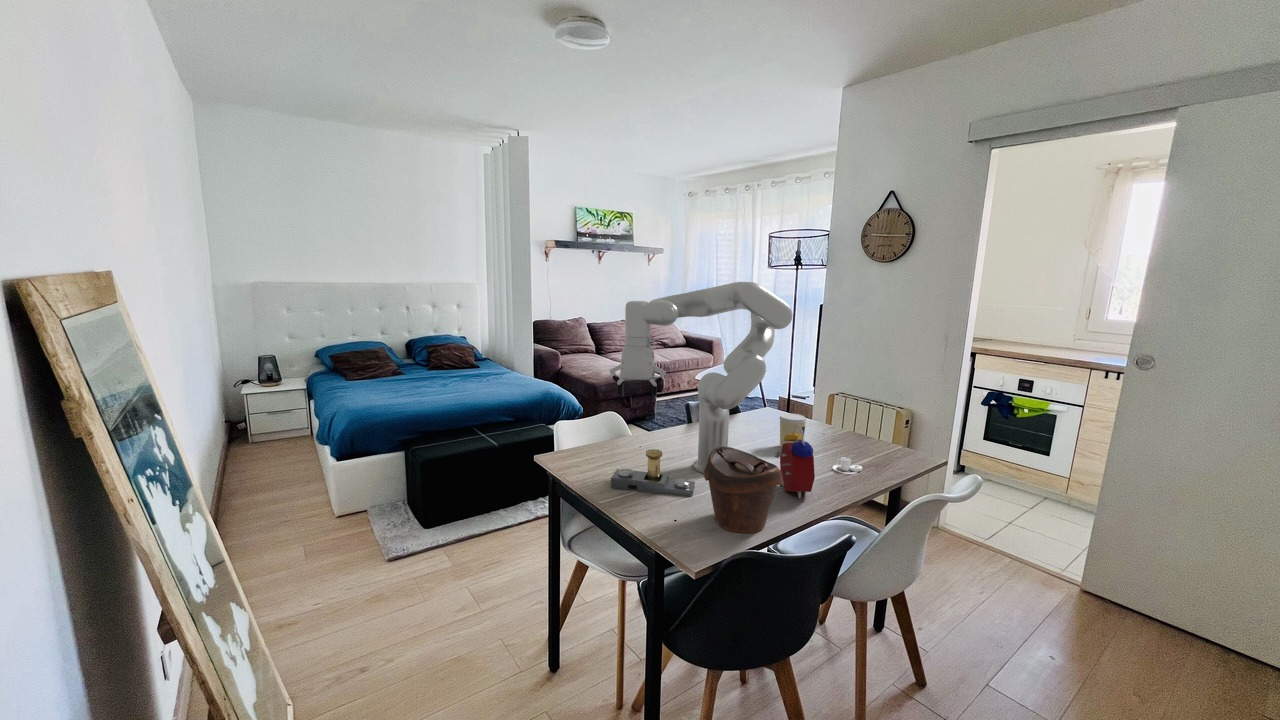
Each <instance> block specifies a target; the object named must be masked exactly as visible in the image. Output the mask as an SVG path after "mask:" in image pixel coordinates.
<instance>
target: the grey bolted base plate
mask: <svg viewBox="0 0 1280 720" xmlns="http://www.w3.org/2000/svg"><path fill="white" fill-rule="evenodd" d="M669 477H670V474H669V472H668V473H667V472H660V481H652V480H648V471H638V470H633V469H630V468H619V469H618V468H617V469H616V470H615V472H614V473H613V474H612V476H611V477H610V488H611V489H613V490H614V489H616V490H625V491H627V490H629V488H630V487H631V486H636V492H638V493H648V494H657V495H659V494H663V495H664V494H665V495H675V496H676V495H677V496H683V497H684V496H685V497H693V494H694V491H695V487H696V486H695V485H696V482H695V481H693V480H688V479H685V478H677V479H671V478H670V479H669Z"/></svg>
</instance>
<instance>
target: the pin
mask: <svg viewBox="0 0 1280 720" xmlns="http://www.w3.org/2000/svg"><path fill="white" fill-rule="evenodd" d="M645 456H646V457H647V472H648V480H652V481H660V473H661V457H663V451H662V450H660V449H655V448H653V449H652V448H651V449H647V450H646V451H645Z"/></svg>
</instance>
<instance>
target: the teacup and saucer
mask: <svg viewBox="0 0 1280 720" xmlns="http://www.w3.org/2000/svg"><path fill="white" fill-rule="evenodd" d="M838 461H840V464H839V463H838ZM851 461H852V459H851V458H850V457H844V456H843V457H840V458H837V459H836V464H834V465H833V466H831V467H832V470H833V471H835V472H837V473H840V474H846V475H855V474H858V472H861V471H862V470H863V467H862V466H861V465H858V464H855V465H854V464H853V465H851ZM838 467H839V468H840V469H841V470H842V471H840V470H838V469H837V468H838ZM849 470H850V471H851V472H849Z"/></svg>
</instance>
